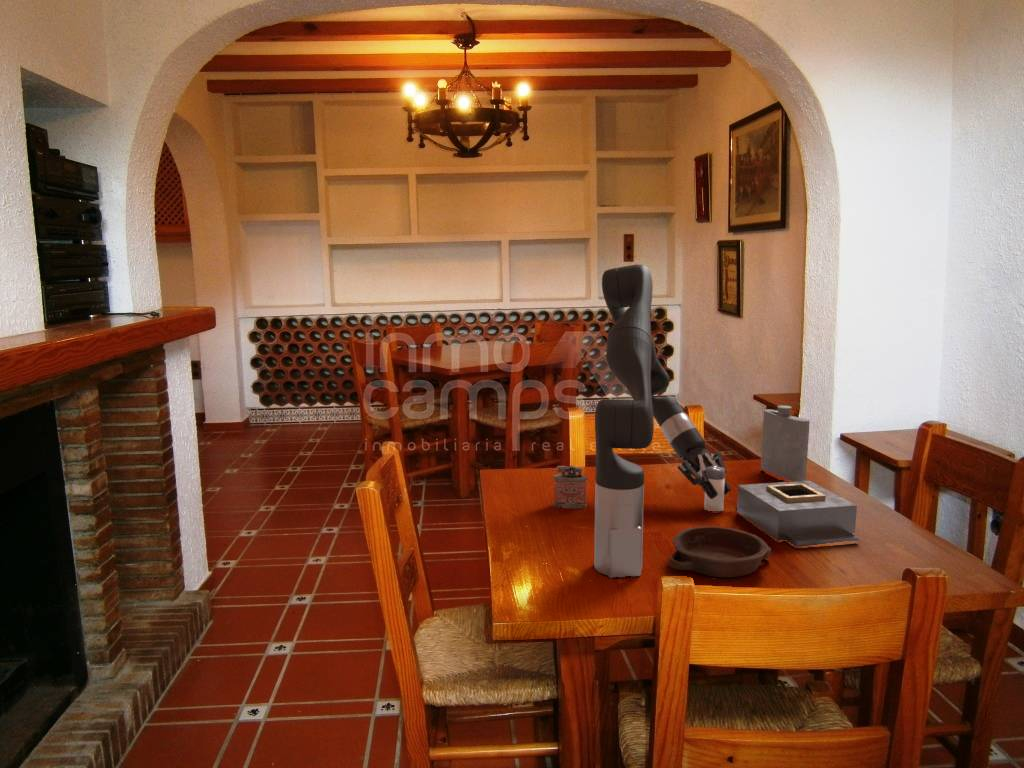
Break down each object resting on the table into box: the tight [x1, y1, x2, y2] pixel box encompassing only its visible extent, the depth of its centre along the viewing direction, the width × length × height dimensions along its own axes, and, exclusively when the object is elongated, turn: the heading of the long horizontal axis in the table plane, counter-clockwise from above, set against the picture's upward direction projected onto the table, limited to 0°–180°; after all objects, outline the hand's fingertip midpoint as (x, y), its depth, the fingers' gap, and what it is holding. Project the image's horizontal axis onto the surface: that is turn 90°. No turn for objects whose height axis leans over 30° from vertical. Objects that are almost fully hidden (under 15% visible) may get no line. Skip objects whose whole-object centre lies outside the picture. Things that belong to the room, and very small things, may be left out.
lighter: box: [553, 464, 588, 509], centre depth 178 cm, size 8×3×10 cm, turn 84°
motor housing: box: [736, 480, 859, 547], centre depth 165 cm, size 26×18×8 cm
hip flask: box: [760, 405, 811, 482], centre depth 199 cm, size 16×4×20 cm, turn 21°
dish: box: [669, 525, 772, 578], centre depth 144 cm, size 18×22×5 cm
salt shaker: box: [703, 466, 726, 512], centre depth 175 cm, size 4×4×10 cm
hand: (721, 494), depth 174 cm, fingers closed on salt shaker, 4 cm apart
